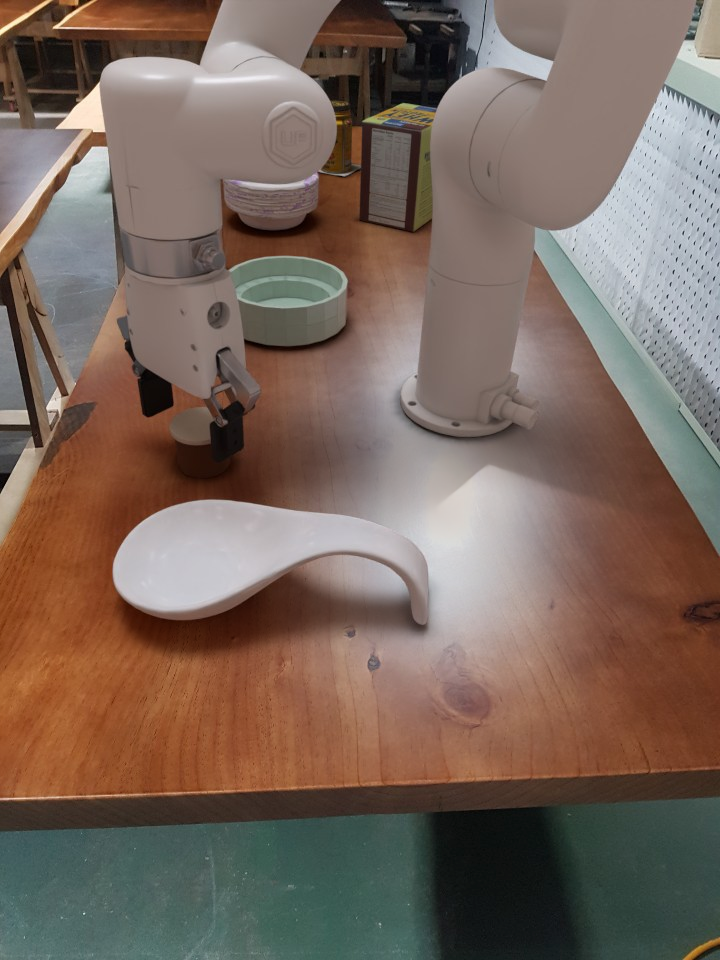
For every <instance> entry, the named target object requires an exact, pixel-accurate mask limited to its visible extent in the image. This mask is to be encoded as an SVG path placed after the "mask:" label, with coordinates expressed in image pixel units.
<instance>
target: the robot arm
mask: <svg viewBox="0 0 720 960" xmlns="http://www.w3.org/2000/svg"><path fill="white" fill-rule="evenodd" d="M341 1H342V0H222V2H221V4H220V7H219V9H218V12H217V15H216V18H215V20H214V23H213V26H212V28H211V32H210V33H209V37H208V40H207V42H206V45H205V47H204V51H203V53H202V56H201V59H200V61H199V62H200V63H199V64H197V63H194V62H191V61H189V60H185V59H180V58H171V57H163V56H161V57H160V56H138V57H137V56H136V57H135V56H134V57H126V58H120V59H117V60H115V61H111V62H110V63H108V64H107V65H106V66H105V67H104V68H103V70H102V72H101V75H100V79H99V94H100V104H101V111H102V118H103V125H104V133H105V138H106V139H105V140H106V145H107V153H108V160H109V167H110V174H111V180H112V188H113V194H114V195H113V196H114V201H115V207H116V211H117V221H118V227H119V235H120V242H121V249H122V256H123V263H124V294H125V295H124V296H125V306H126V314H125V315H123V316H120V317H117V318H116V324H117V326H118V329H119V331H120V334H121V336H122V338H123V340H124V341H125V342H124V350H125V351H126V352H127V354H128V356H129V358H130V359H131V361H132V362H133V364H132V365H131V370H132V373H133V375H134V376H135V377H136V378H137V379H136V380H137V387H138V394H139V395H138V396H139V401H140V407H141V413H142V415H143V416H144V417H146V419H147V418H151V417H154V416H156V415H158V414H160V413H163V412H165V411H167V410H168V409H172V408H173V407H174V405H175V402H174V392H173V386H175V387H177V388H178V389H181V390H182V391H184V392H186V393H188V394H189V395H192V396H194V397H196V398H199V399H202V400H203V402H204V404H205V405H206V406H205V407H207V408H208V409H209V411H210V413H211V415H212V417H213V419H214V421H212V422H211V423H210V438H211V451H212V458H213V460H214V461H216V462H217V463H220V462H222V461H223V460H225V459H227V458H229V457H230V458H231V457H232V456H234V455H236V454H238V453H239V452H241V451H243V449H244V447H245V437H244V436H245V434H244V418H243V417H245V416H246V415H248V414H249V413H250V412H251V411H253V410H254V409H255V408H256V404H257V401H258V399H259V398H260V395H261V394H262V388H261V386H260V384H259V383H258V381H257V380H256V379H255V378H254V377H253V376H252V374H250V372H249V371H248V370H247V361H246V349H245V339H244V337H243V329H242V322H241V315H240V309H239V304H238V299H237V294H236V290H235V286H234V282H233V279H232V276H231V272H230V271H228V270H229V269H227V268H226V269H225V262H227V257H226V253H225V254H224V250H225V241H224V240H225V239H224V225H223V206H222V205H223V204H222V189H221V187H222V185H221V180H223V179H227V180H238V181H246V182H254V183H262V184H279V185H280V184H290V183H296V182H299V181H302V180H305V179H307V178H309V177H310V176H312V175H314V174H315V173H316V172H317V173H319V172H318V171H319V170H320V169H321V168H322V167H323V166H324V165H325V163H326V162H327V161H328V159H329V157H330V155H331V153H332V151H333V148H334V146H335V141H336V134H337V124H336V117H335V113H334V109H333V107H332V104H331V102H330V101H331V100H330V98H329V96H328V95H327V93H326V91H324V89H323V88H322V87H321V85H320V84H318V82H317V81H316V80H315V79H313V78H312V77H311V76H310V75H308V74H307V73H306V72H304V71H302V70H301V69H302V66H303V64H304V62H305V59H306V58H307V57H306V56H307V55H308V52H309V51H310V48H311V46H312V44H313V42H314V40H315V39H316V36H317V34H318V33H319V31H320V29H321V28H322V26H323V24H324V23H325V22H326V20H327V18H328V17H329V16H330V14H331V13H332V12H333V10H334V9H335V8H336V7H337V5H338V4H339V3H340V2H341ZM696 4H697V0H493V15H494V20H495V23H496V26H497V28H498V30H499V33H500V34H501V36H502V37H503V38H504V39H505V40H506V41H508V42H507V43H509V44H510V45H512V46H513V47H514V48H517V49H518V50H521V51H522V52H525V53H527V54H530V55H533V56H535V57H537V58H540V59H544V60H547V61H551V62H552V65H551V68H550V70H549V73H548V76H547V78H546V80H545V79H542V78H539V77H537V76H533V75H529V74H526V73H524V72H521V71H518V70H515V69H511V68H504V67H484V68H479V69H476V70H473V71H471V72H469V73H466V74H465V75H463V76H462V77H460V78H459V79H457V80H456V81H455V82H454V83H453V84H452V85H451V86H450V87H449V88H448V89H447V91H446V92H445V93H444V95H443V96H442V98H441V99H440V102H439V103H438V105H437V107H436V108H437V110H436V113H435V116H434V120H433V124H432V130H431V139H430V162H431V177H432V195H433V214H432V219H431V230H430V231H431V233H430V245H429V253H428V263H427V273H426V283H425V292H424V302H423V312H422V322H421V330H420V331H421V333H420V341H419V351H418V361H417V362H418V363H417V372H416V373H413V374H412V375H411V376H409V377H408V378H407V379H406V380H404V382H403V384H402V386H401V389H400V394H399V395H400V396H399V400H400V406H401V408H402V410H403V412H404V413H405V414H406V415H407V417H408V418H410V419H411V420H412V421H413V422H414V423H416V424H417V425H419V426H421V427H422V428H425V429H427V430H429V431H431V432H434V433H438V434H442V435H445V436H452V437H458V438H477V437H485V436H491V435H493V434H496V433H499V432H502V431H503V430H505V429H506V428H508V427H509V426H511V424H512V423H514V424H516V425H518V426H520V427H522V428H524V429H526V430H529V431H530V430H532V429H533V428H534V426H535V424H536V422H537V421H538V418H539V412H538V411H537V408H538V405H539V399H537V398H535V397H533V396H530V395H528V394H524V393H521V392H520V389H519V388H517V387H518V383H519V378H520V374H518V373H515V372H513V371H511V370H512V366H513V359H514V355H515V350H516V344H517V340H518V336H519V329H520V325H521V319H522V313H523V311H524V304H525V299H526V294H527V288H528V284H529V278H530V273H531V269H532V265H533V259H534V252H535V243H536V228H537V229H540V230H542V231H543V230H545V231H553V232H554V231H555V232H557V231H563V230H568V229H570V228H573V227H575V226H577V225H580V223H583V222H584V221H585V220H587V219H588V218H589V217H590V216H591V215H592V214H594V212H596V210H598V208H599V207H600V206H601V205H602V204H603V203H604V201H605V200H606V199H607V197H608V195H609V194H610V193H611V191H613V188H614V187H615V185H616V184H617V181H618V179H619V178H620V176H621V173H622V172H623V170H624V168H625V166H626V164H627V162H628V160H629V157H630V156H631V154H632V152H633V150H634V147H635V146H636V144H637V141H638V139H639V137H640V135H641V133H642V131H643V128H644V127H645V124H646V122H647V120H648V119H649V116H650V114H651V112H652V110H653V108H654V105H655V103H656V101H657V99H658V97H659V96H660V93H661V91H662V89H663V87H664V85H665V83H666V81H667V78H668V77H669V74H670V72H671V70H672V68H673V65H674V64H675V62H676V59H677V57H678V55H679V53H680V50H681V48H682V46H683V44H684V42H685V39H686V37H687V34H688V31H689V29H690V26H691V23H692V20H693V17H694V12H695V10H696V9H695V8H696ZM217 377H218V379H219V381H220V382H221V383H219V384H217V385H215V384H216V380H217ZM222 392H224V393H225V395H226V397H227V399H228V401H229V403H230V404H228V405H227V406H226V407H225V408H223V407H222V403H220V401H219V399H218V397H217V395H218V394H220V393H222Z"/></svg>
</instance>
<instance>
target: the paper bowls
mask: <svg viewBox="0 0 720 960" xmlns="http://www.w3.org/2000/svg"><path fill="white" fill-rule="evenodd" d="M319 179H320V176H319V172H316V173H315V174H314V175H312V176H310V177H309V178H307V179H305V180H302V181H299V182H296V183H290V184H280V185H279V184H262V183H254V182H246V181H238V180H227V179H222V183H223V184H222V185H223V200H224V204H225V206H226V207H227V208H229V209H230V210H231V211H233V212H236V213H237V215H238V217H239V219H240V220H241V221H242V222H243V223H244V225H246V226H248V227H251V228H253V229H257V230H262V231H283V230H284V231H285V230H290V229H293V228H296V227H297V226H299V225H301V224H302V222H303V221H304V220H305V218H306V217H307V214H309V213H311V212H312V211H314V210H316V208H317V207H318V205H319V188H320V187H319Z"/></svg>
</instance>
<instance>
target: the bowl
mask: <svg viewBox="0 0 720 960" xmlns="http://www.w3.org/2000/svg"><path fill="white" fill-rule="evenodd" d="M227 270H228V271H230V272H231V276H232V279H233V282H234V286H235V290H236V294H237V299H238V304H239V309H240V315H241V322H242V329H243V337H244V340H245V341H249V342H253V343H257V344H261V345H265V346H277V347H296V346H306V345H311V344H314V343H318V342H323V341H326V340H327V339H329V338H331V337H334V336H335V335H336V334H337V335H338V333H339V332H341V330H342V329H343V328H344V327H345V326H346V323H347V318H348V293H349V292H348V290H349V289H348V288H349V280H348V278H347V276H346V273H345V272H344V271H343V270H341V269H340V268H338V266H335V265H334V264H331V263H329V262H326V261H323V260H320V259H317V258H311V257H306V256H294V255H273V256H272V255H271V256H263V257H257V258H253V259H249V260H246V261H243V262H241V263H238V264H236V265H233V266H232V267H231V268H229V269H227Z"/></svg>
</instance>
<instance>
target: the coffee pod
mask: <svg viewBox="0 0 720 960" xmlns="http://www.w3.org/2000/svg"><path fill="white" fill-rule="evenodd" d="M212 421H214V419H213V417H212V415H211V413H210V411H209V409H208V408H207V406H198V407H191V408H188V409H185V410H183V411H180V412H179V413H177V414H176V415H174V416H173V417H172V419H171V420H170V422H169V427H168V428H169V433H170V435H171V437H172V438H173V439H174V443H175V444H174V445H175V450H176V456H177V463H178V468H179V470H180V471H181V473H184V475H186V476H188V477H191V478H196V479H209V478H213V477H216V476H219V475H220V474H223V473H224V472H226V470H227V469H228V468H229V467H230V464H231V456H230V457H229V458H227V459H225V460H223V461H222V462H220V463H217V462H216V461H214V460H213V458H212V451H211V438H210V423H211V422H212Z"/></svg>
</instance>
